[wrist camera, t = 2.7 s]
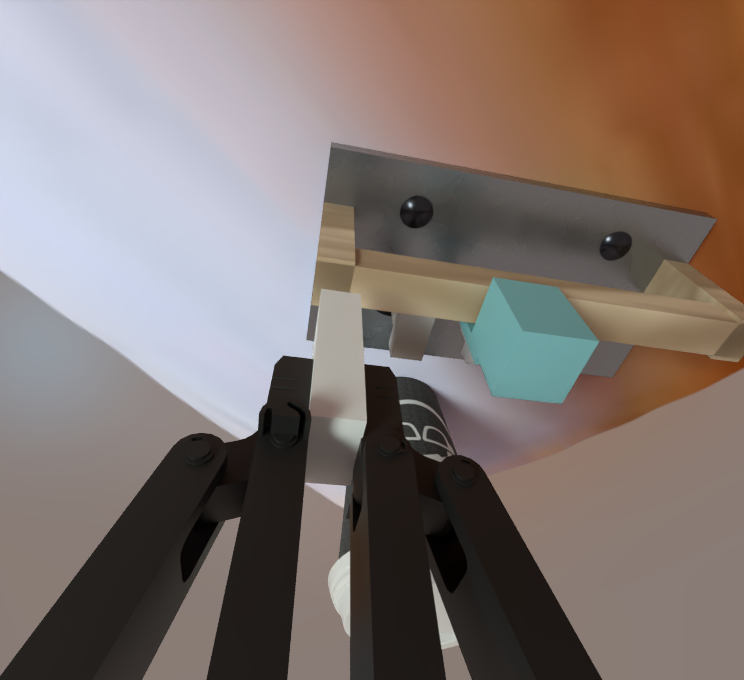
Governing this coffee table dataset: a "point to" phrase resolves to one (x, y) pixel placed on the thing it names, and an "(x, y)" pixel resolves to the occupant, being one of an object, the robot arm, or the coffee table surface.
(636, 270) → the bolt plate
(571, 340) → the slider block
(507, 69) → the coffee table surface
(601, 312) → the wooden rail
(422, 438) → the coffee cup
